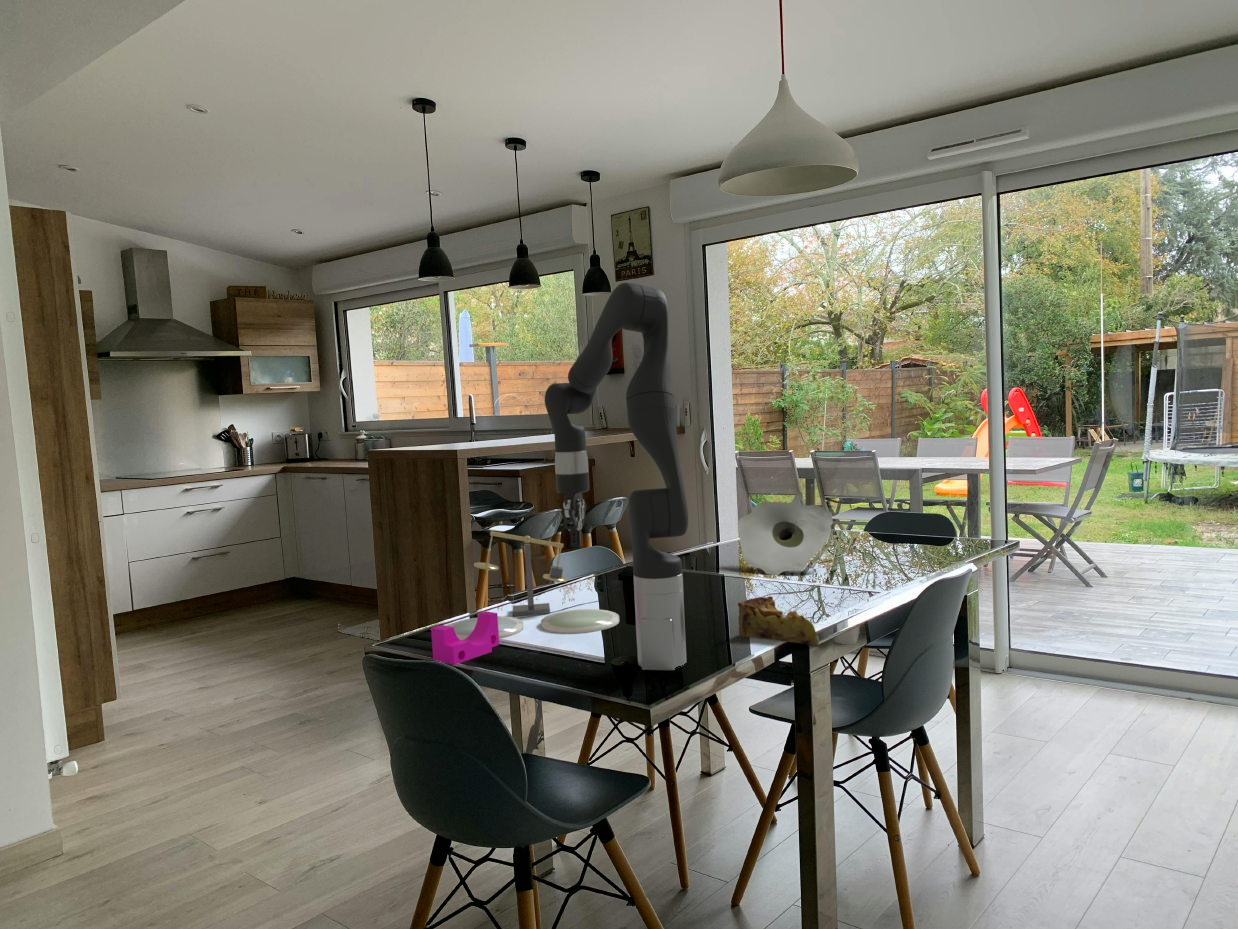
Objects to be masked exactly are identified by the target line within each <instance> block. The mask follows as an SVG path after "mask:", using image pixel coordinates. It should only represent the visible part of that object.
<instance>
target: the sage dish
mask: <svg viewBox="0 0 1238 929" xmlns="http://www.w3.org/2000/svg"><path fill="white" fill-rule="evenodd" d="M619 623H620V615H619V614H618V613H616V612H614V611H610V610H606V609H598V608H597V609H595V608H591V609H590V608H584V609H571V610H570V609H569V610H564V611H559V612H556V613H554V612H553V613H552V614H551V613H550V614H547V615H546V616H544V617H543V618H542V619H541V620H540V628H541V629H542V630H544V631H547V632H550V633H555V634H556V633H557V634H582V633H583V634H585V633H593V632H598V631H599V632H600V631H603V630H608V629H611V628H614V627H615V626H617V625H618V624H619Z"/></svg>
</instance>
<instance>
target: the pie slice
mask: <svg viewBox="0 0 1238 929" xmlns="http://www.w3.org/2000/svg"><path fill="white" fill-rule="evenodd" d="M737 607H738V614H739V615H738V632H739V637H744V638H753V639H761V640H762V639H763V640H769V641H771V640H772V641H780V642H788V643H796V644H802V645H803V644H804V645H811V646H819V643H820V640H819V638H818V635H819V634H818V633H817V631H816V627H815V625H814V624H813V623H812V621H810V620H808V619H806V618H805V617H804V615H801V614H799V613H798V612H797V611H796V610H794V611H792V610H791V611H789V612H788V613H787V614H786V615H785V616H784V612H783V611H782V610H779V609H778V608H776V601H775V600H774V597H773V596H772V595H771V596H767V597H763V596H762V597H761V596H759V597H754V598H753V597H752V598H748V599H747V600H743V601H740V602H738V603H737Z"/></svg>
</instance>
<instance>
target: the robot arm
mask: <svg viewBox="0 0 1238 929" xmlns="http://www.w3.org/2000/svg"><path fill="white" fill-rule="evenodd" d="M669 322H670V321H669V305H668V300H667V297H666V294H665V293H664V291H662V290H661V289H659V288H655V287H651V286H647V285H643V284H638V283H633V282H621V283H619V284H618V285H617V286H616V287H615V288H614V289H613V291H612V292H611V294H610V295H609V298H608V299H607V301H606V303H605V305H604V307H603V309H602V312H601V314H600V315H599V317H598V320H597V322H596V325H595V327H594V330H593V331H592V333H591V336H590V338H589V340H588V342H587V344H586V345H585V347H584V349H583V351H582V352H581V353H580V354H579V356H578V357H577V359H576V360H575V361H574V362H573V365H571V367H570V369H569V371H568V374H567V381H568V382H558V383H557V382H556V383H552V384H550V385H548V387H547V389H546V390H545V393H544V406H545V409H546V413H547V415H548V417H549V422H550V424H551V427H552V428H551V429H552V430H553V435H554V448H555V449H554V450H555V456H554V470H555V486H556V492H557V493H558V494H564V500H563V501H562V503H563V504H562V505H563V508H562V509H561V511H560V514H561V516H562V519H563V522H564V526H565V529H566V530H568V531H569V539H570V547H571V548H580V547H581V546H582V529H583V526H584V525H585V519H586V518H585V517H586V510H587V502H585V498H584V499H583V493H586V492H588V491H590V487H591V486H590V474H589V470H590V469H589V459H588V453H587V441H586V440H587V439H586V438H587V436H586V430H585V427H584V426H583V425H580V424H576V423H572V422H571V420H570V418H569V416H568V415H572V414H581V413H584V412H586V411H587V410H588V409H589V408H590V407H591V406H592V404H593V403H592V402H593V400H594V397H595V394H596V391H597V388H598V386H599V384H600V383H601V382H602V381H603V380H604V378H605V377H606V375H607V374H608V373H609V371H610V369H611V366H612V365H613V360H614V359H613V358H614V355H613V346H612V344H613V343H612V342H613V338H614V336H615V335H616V334H617V333H618V332H619V331H620V330H621V329H622V330H624V331H631V332H636V333H641V336H642V340H643V353H642V359H641V361H640V363H639V365H638V367H637V368H636V371H635V372H634V375H633V376H631V377H632V378H631V379H630V382H629V383H628V386H627V388H626V389H627V390H626V394H625V400H626V411H627V412H626V413H627V420H628V421H627V422H628V426H629V428H630V431H631V433H632V434H633V436H634V437H635V438H636V440H637V441H638V442H639V443H640V445H641V446H642V447H643V449H644V450H646V452H647V453H648V455H649V456H650V457H651V458H652V459H653V461H654V462H655V464H656V466H657V467H658V469H659V472H660V473H661V476H662V478H663V481H664V484H665V488H664V487H663V488H646V489H637V490H633V491H632V492H631V493H630V495H629V498H628V518H629V519H628V520H629V529H630V538H631V546H632V547H631V548H632V550H631V552H632V568H633V570H632V571H633V587H634V588H633V591H634V594H633V595H634V609H635V610H634V613H635V632H636V633H635V634H636V648H637V649H636V650H637V663H638V666H640V667H641V670H643V671H646V670H647V671H675V670H676V669H677V668H676V667H678V666H681V667H683V666H685V665H686V664H687V645H686V644H687V643H686V624H685V604H684V603H685V602H684V601H685V600H684V599H685V598H684V577H683V562H682V559H681V558H680V557H679V556H677V555H675V554H672V553H669V552H664V551H661V550H659V549H657V548H655V547H654V546H652V545H651V544H650V540H651V539H661V538H663V539H665V538H677V537H681V536H685V534H686V533H687V531H688V526H689V511H688V510H689V509H688V504H687V498H686V497H687V496H686V491H685V484H684V480H683V474H682V467H681V462H680V455H679V444H678V432H677V420H676V419H677V418H676V407H675V400H674V391H673V385H672V376H671V374H672V373H671V363H670V350H669V349H670V345H669V342H670V341H669V340H670V339H669V338H670V336H669V326H670V325H669ZM685 663H686V664H685ZM684 664H685V665H684ZM682 665H683V666H682ZM675 668H676V669H675ZM678 668H679V667H678Z"/></svg>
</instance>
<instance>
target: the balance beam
mask: <svg viewBox="0 0 1238 929" xmlns="http://www.w3.org/2000/svg"><path fill="white" fill-rule="evenodd" d="M489 536H491V537H490V540H489V546H488V550H487V556H486V562H474V563H473V566H474V568H477V569H480V570H485V571H499V568H500V567H499V566H498V565H496V564H493V563H488V562H489V558H490V552H491V548H492V542H493V537H498V538H502V539H508V540H509V539H510V540H515V541H521V542H523V543H524V544H530V543H532V544H536V545H537V544H538V545H543V546H550V547H555V548H559V551H558V556H557V562H556V566H554V565H551V566H550V571H549V573H544V574H543V575H542V578H543V579H545V580H546V581H549V582H550V581H551V582H556V583H567V582H568V578H567V577H565V576H563V571H564V569H563V567H561V566H559V564H560V560H561V553H562V549H563V548H564V543H561V542H555V541H549V540H545V539H544V540H543V539H537V538H532V537H531V536H530V535H524V536H521V535H515V534H509V533H505V532H504V533H503V532H497V531H493V530H491V531H490V532H489Z"/></svg>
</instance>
